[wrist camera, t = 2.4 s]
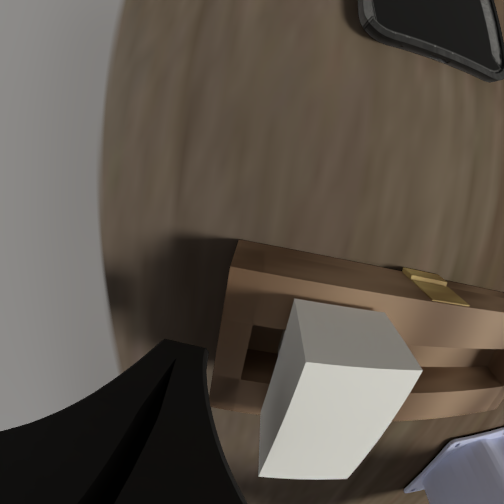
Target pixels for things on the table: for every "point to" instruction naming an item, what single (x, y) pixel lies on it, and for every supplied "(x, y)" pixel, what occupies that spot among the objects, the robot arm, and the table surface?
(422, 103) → the table surface
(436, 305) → the brown wooden frame
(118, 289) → the table surface
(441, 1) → the phone
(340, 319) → the block
